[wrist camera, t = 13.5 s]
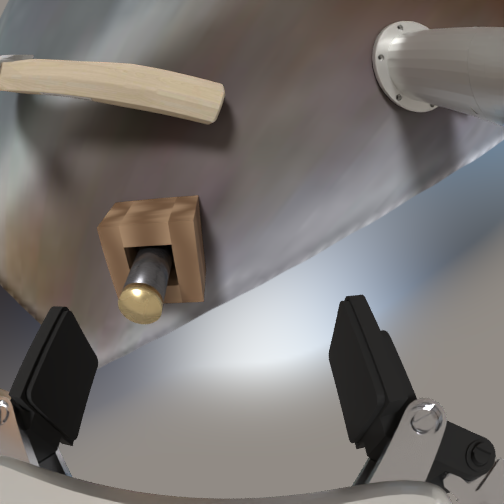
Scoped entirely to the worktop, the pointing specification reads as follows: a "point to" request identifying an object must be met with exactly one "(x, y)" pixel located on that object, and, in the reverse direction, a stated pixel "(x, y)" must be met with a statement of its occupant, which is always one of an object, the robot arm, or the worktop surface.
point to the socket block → (157, 242)
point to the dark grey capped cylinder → (146, 284)
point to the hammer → (115, 85)
